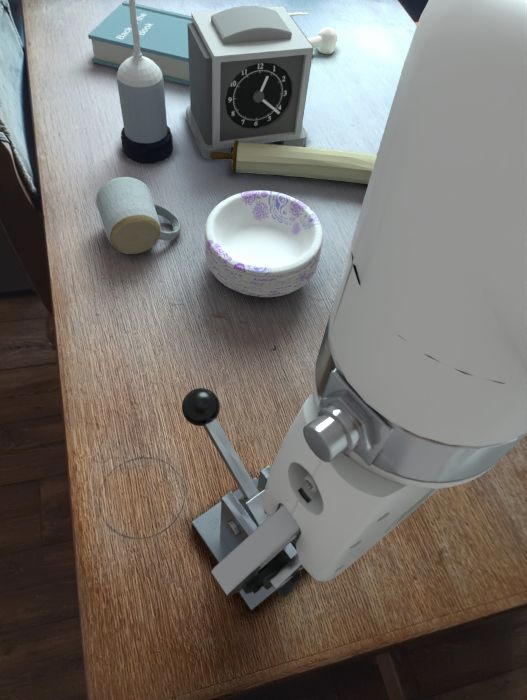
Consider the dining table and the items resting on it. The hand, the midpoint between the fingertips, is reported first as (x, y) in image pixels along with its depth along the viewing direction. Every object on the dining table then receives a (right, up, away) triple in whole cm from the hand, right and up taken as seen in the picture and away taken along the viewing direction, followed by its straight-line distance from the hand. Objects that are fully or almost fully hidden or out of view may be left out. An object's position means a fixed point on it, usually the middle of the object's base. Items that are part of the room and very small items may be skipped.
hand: (332, 521), depth 33 cm
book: (-24, +68, +74) cm, 103 cm away
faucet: (+3, +70, +77) cm, 104 cm away
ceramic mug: (-22, +27, +45) cm, 57 cm away
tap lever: (-8, +1, +14) cm, 16 cm away
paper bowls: (-5, +21, +43) cm, 48 cm away
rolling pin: (+3, +38, +55) cm, 67 cm away
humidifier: (-23, +44, +56) cm, 75 cm away
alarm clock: (-7, +49, +61) cm, 79 cm away
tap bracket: (-5, -9, +21) cm, 23 cm away
